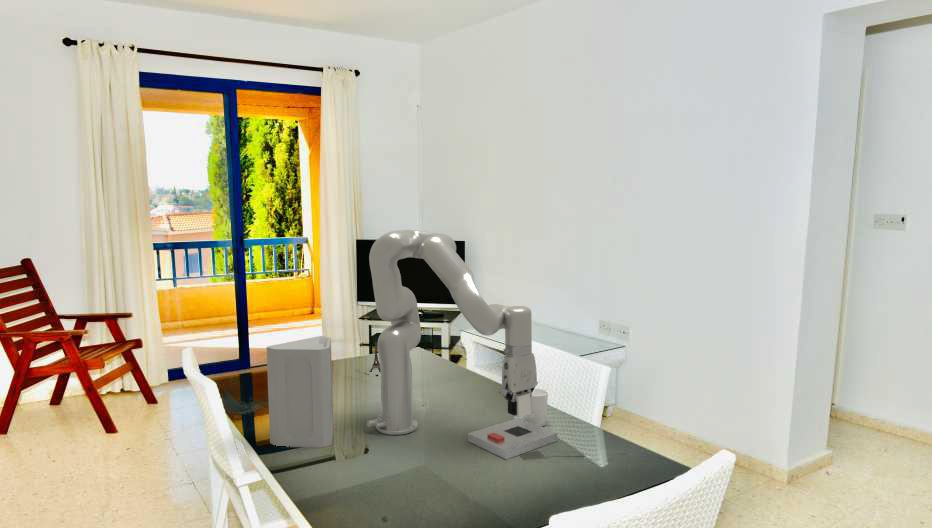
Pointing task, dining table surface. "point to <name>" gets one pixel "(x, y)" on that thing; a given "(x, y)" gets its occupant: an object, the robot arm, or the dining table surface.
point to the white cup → (538, 407)
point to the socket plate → (512, 437)
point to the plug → (522, 403)
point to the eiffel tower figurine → (375, 365)
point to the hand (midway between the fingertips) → (518, 411)
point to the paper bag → (300, 393)
